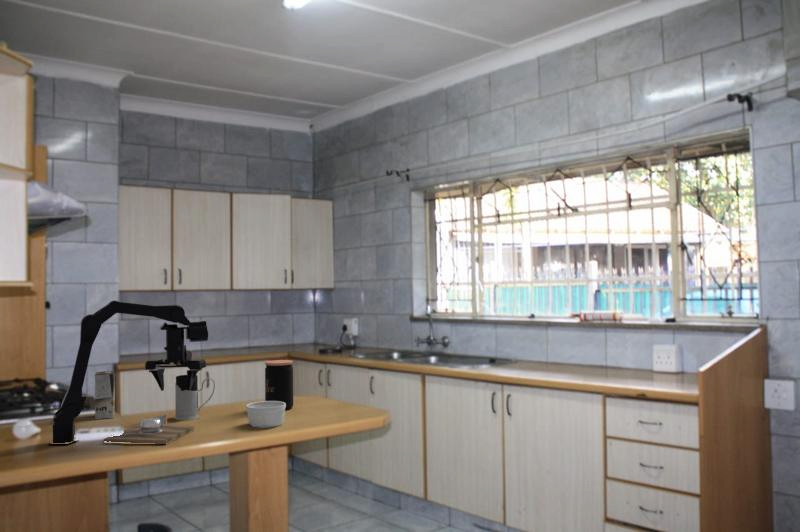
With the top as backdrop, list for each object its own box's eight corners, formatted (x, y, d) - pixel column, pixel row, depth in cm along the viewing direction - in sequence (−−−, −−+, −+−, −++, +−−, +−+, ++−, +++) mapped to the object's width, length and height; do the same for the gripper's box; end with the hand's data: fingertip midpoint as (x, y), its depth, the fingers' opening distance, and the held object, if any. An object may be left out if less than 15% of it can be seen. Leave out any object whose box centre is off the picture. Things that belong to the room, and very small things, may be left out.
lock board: (165, 445, 207) (165, 439, 207) (103, 443, 209) (103, 438, 209) (194, 430, 226) (194, 425, 226) (136, 429, 229) (136, 424, 229)
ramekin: (255, 430, 226) (254, 409, 226) (240, 423, 237) (240, 403, 237) (292, 425, 233) (292, 404, 233) (276, 419, 244) (276, 399, 244)
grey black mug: (173, 416, 250) (172, 375, 250) (213, 413, 255) (212, 372, 256) (175, 421, 242) (175, 378, 242) (216, 417, 247) (216, 375, 247)
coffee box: (114, 418, 249) (113, 373, 249) (94, 419, 246) (94, 374, 247) (114, 413, 257) (114, 370, 257) (96, 414, 255) (96, 371, 255)
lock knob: (155, 432, 214) (154, 422, 215) (136, 432, 215) (136, 421, 215) (173, 424, 227) (173, 414, 227) (155, 424, 228) (155, 414, 228)
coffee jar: (263, 407, 267) (263, 360, 267) (291, 405, 270) (290, 359, 270) (266, 412, 256) (266, 363, 257) (295, 410, 260) (295, 362, 260)
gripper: (212, 340, 233) (212, 386, 232) (159, 340, 235) (160, 386, 235) (198, 343, 222) (199, 392, 221) (143, 344, 224) (144, 392, 224)
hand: (175, 390), depth 226 cm, fingers open, 9 cm apart
